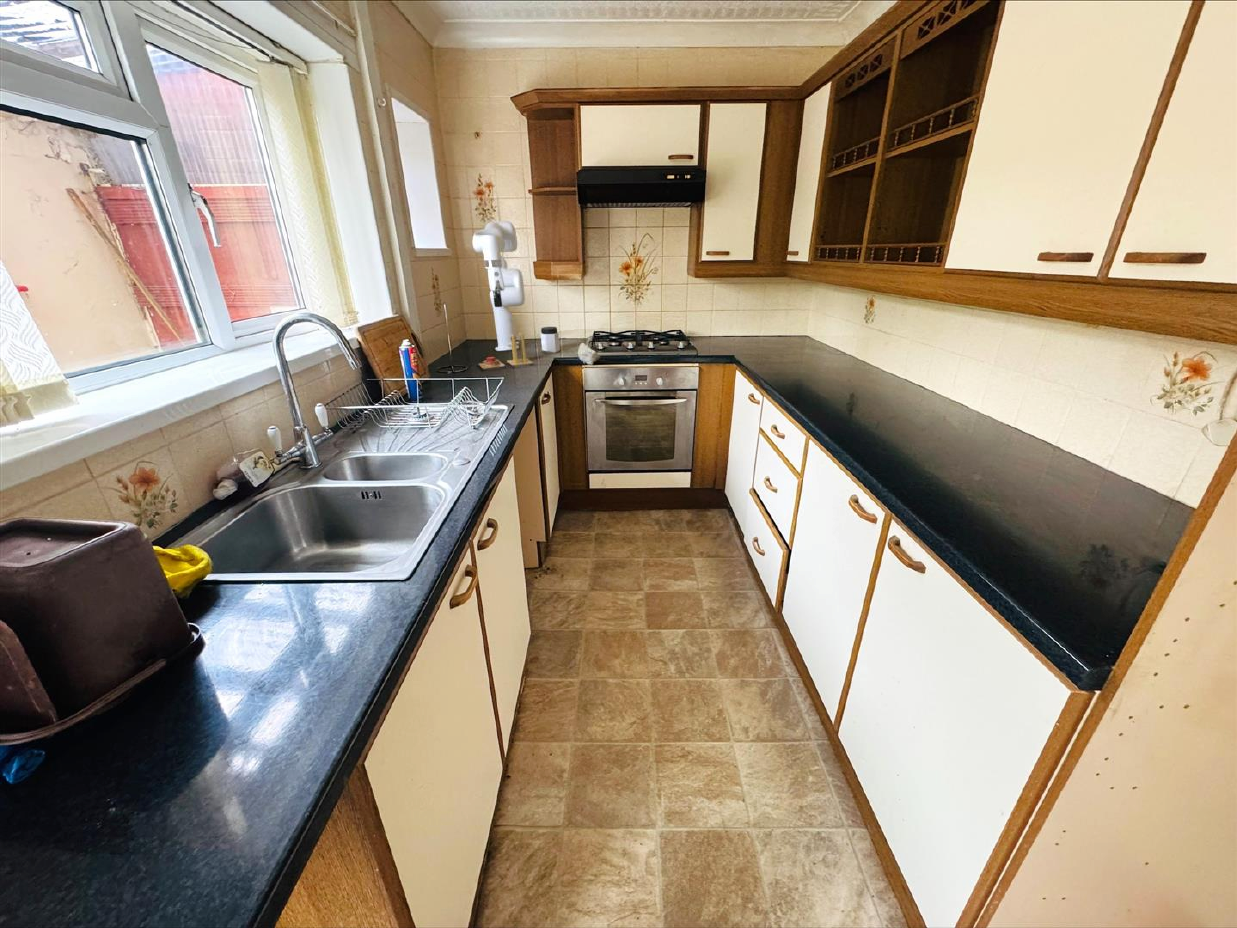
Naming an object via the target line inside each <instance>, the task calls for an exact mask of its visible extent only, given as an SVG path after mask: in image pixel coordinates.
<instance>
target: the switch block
mask: <svg viewBox="0 0 1237 928" xmlns="http://www.w3.org/2000/svg"><path fill="white" fill-rule="evenodd" d="M495 360H496V361H494V362H487V360H486V359H485V360H483V361H482V362H480V363H478V365H479V366H480V367H481V368H482V369H483V370H485V369H493V368H501V367H506V365H505V364H504V363H503V362H502V361H500V359H497V358H495Z"/></svg>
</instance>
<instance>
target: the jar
mask: <svg viewBox="0 0 1237 928" xmlns="http://www.w3.org/2000/svg"><path fill="white" fill-rule="evenodd" d="M540 332H541V333H540V343H541V350H542V351H545V352H550V353H552V354H554V353H555V354H556V353H558V352H560V336H559V332H558V327H557V326H544V327H541V328H540Z"/></svg>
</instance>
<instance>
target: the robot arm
mask: <svg viewBox="0 0 1237 928" xmlns="http://www.w3.org/2000/svg"><path fill="white" fill-rule="evenodd" d="M517 238H518V237H517V233H516V229H515V226H514V224H513V223H512V221H509V220H505V221H504V220H498V221H497V220H495V221H490V222H488V223H487V224H486V225H485V228H483V229H480V230H477V231H475V232H474V233H473V236H472V248H473V250H474V252H475V253H478V254H483V261H484V268H485V269H487V277H488V285H489V290H490V291H489V298H490V303H491V306H492V310H493V317H494V324H495V333H496V339H497V340H496V341H497V346H496V347H495V351H496V352H502V351H512V346H508V343H511V339H510V338H511V336H510V334H513V335H516V331H515V322H514V315H513V313H512V312H511V310H510V309H509V308H507V307H519V306H520V307H521V306H523V305H524V304H525V301H526V298H525V288H524V287H525V286H524V277H523V274H522V271H521V270H520V269H518V268H508V262H507V260H506V259H505V258H504V257H503V256H502V255H501V253H513V252H515V251H517V249H518V240H517ZM516 350H520V345H516Z"/></svg>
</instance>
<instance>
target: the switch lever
mask: <svg viewBox="0 0 1237 928" xmlns="http://www.w3.org/2000/svg"><path fill="white" fill-rule="evenodd" d="M520 340H521V339H520V335H519V334H515V341H516V345H518V346H520ZM508 346H512V344H511V343H508Z"/></svg>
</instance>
